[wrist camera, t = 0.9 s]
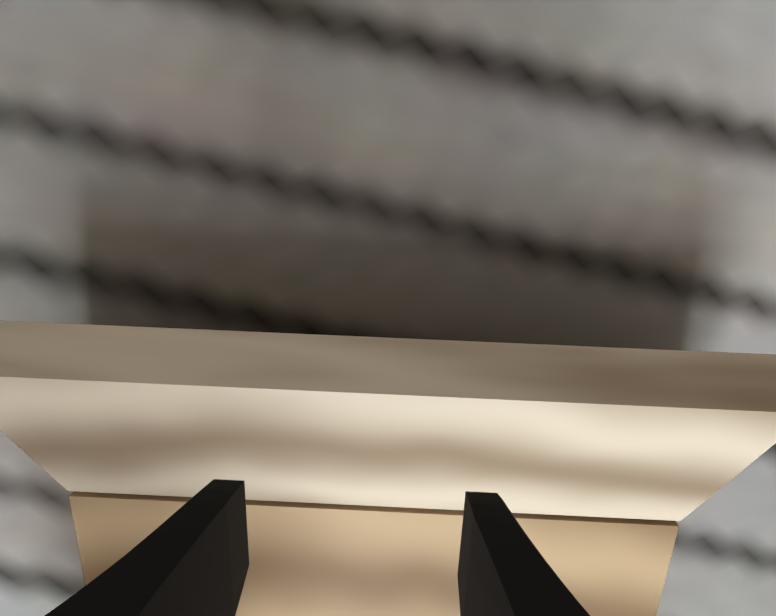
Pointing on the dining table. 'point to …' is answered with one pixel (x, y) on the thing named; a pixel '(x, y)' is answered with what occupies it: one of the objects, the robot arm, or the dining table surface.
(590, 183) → the dining table surface
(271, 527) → the board
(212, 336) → the maple plank
